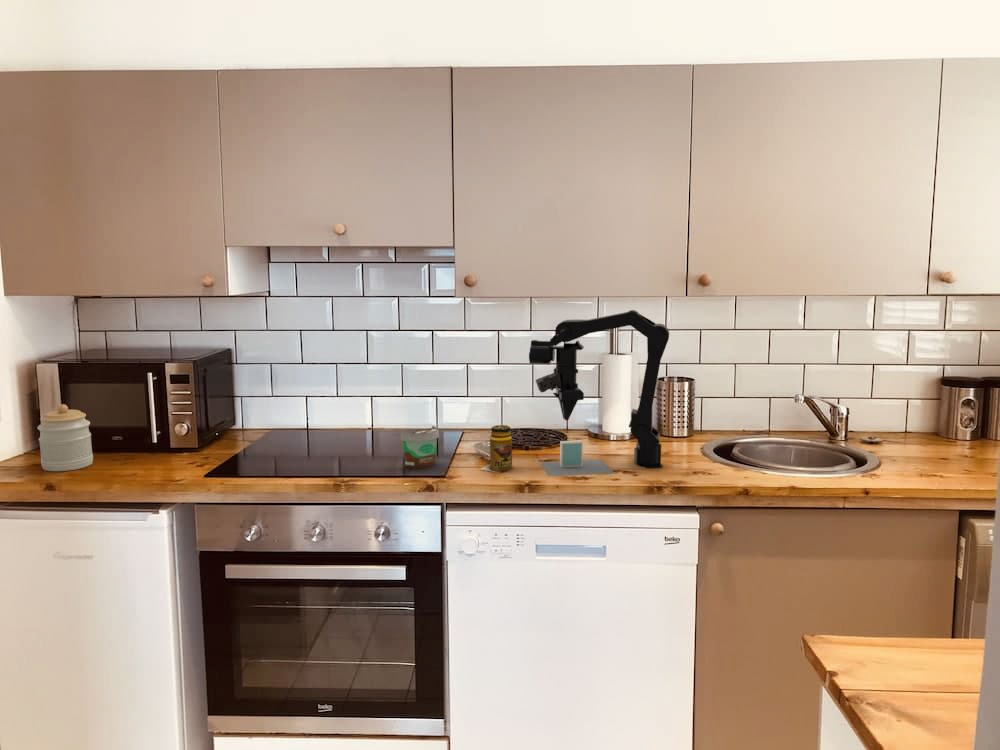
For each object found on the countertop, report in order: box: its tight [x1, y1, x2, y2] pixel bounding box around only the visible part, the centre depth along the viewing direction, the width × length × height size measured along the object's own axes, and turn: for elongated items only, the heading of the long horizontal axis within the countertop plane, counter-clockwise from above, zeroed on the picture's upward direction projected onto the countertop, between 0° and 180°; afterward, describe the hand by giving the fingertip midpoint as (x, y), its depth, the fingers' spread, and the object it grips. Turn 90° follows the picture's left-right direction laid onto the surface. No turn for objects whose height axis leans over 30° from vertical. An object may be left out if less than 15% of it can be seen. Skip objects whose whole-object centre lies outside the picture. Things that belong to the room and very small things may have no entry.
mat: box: [539, 459, 615, 477], centre depth 218 cm, size 18×14×1 cm
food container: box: [400, 425, 440, 469], centre depth 222 cm, size 12×6×10 cm, turn 137°
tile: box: [559, 440, 584, 467], centre depth 219 cm, size 6×2×7 cm, turn 97°
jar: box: [37, 403, 94, 472], centre depth 222 cm, size 13×13×18 cm
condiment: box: [479, 424, 513, 474], centre depth 218 cm, size 7×8×12 cm
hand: (565, 419), depth 225 cm, fingers closed
